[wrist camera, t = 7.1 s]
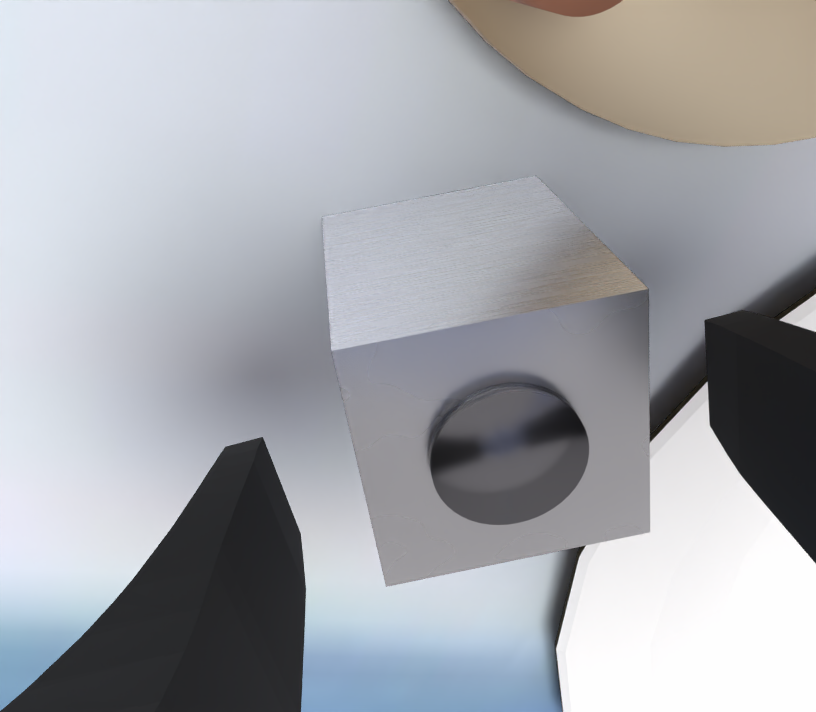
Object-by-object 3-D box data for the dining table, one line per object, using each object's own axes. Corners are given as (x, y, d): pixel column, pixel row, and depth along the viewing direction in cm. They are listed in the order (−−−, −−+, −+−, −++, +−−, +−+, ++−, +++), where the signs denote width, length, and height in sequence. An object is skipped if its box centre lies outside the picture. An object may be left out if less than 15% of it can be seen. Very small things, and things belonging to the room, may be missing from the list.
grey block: (535, 175, 16) (656, 297, 11) (550, 362, 18) (657, 544, 13) (321, 216, 16) (332, 361, 10) (362, 399, 18) (387, 600, 13)
